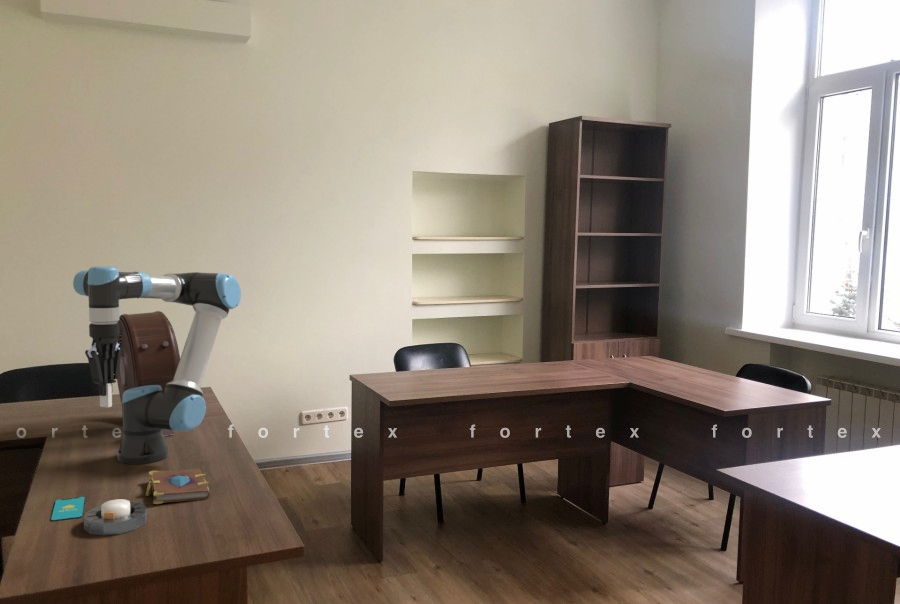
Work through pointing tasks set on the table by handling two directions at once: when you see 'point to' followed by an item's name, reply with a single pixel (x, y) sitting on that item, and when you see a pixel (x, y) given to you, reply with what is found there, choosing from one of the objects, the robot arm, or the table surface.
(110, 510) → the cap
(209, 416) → the table surface
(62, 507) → the smartphone
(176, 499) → the book
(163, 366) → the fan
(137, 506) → the faceted grey ring
